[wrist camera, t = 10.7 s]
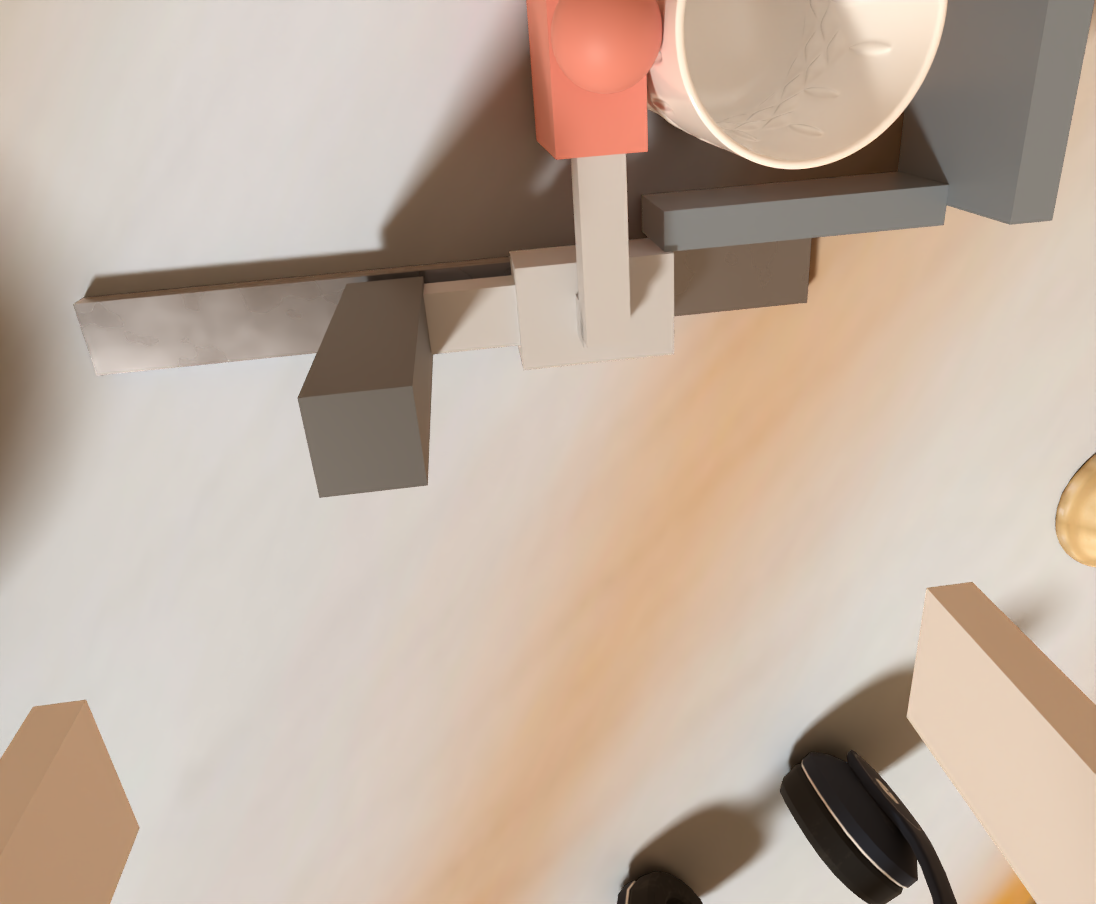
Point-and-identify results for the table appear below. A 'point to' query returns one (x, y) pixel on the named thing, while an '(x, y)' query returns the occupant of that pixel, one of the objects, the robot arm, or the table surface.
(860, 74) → the white cup
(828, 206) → the frame
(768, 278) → the rail
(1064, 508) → the hand bell
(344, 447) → the striker slider
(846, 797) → the headphones
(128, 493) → the table surface
